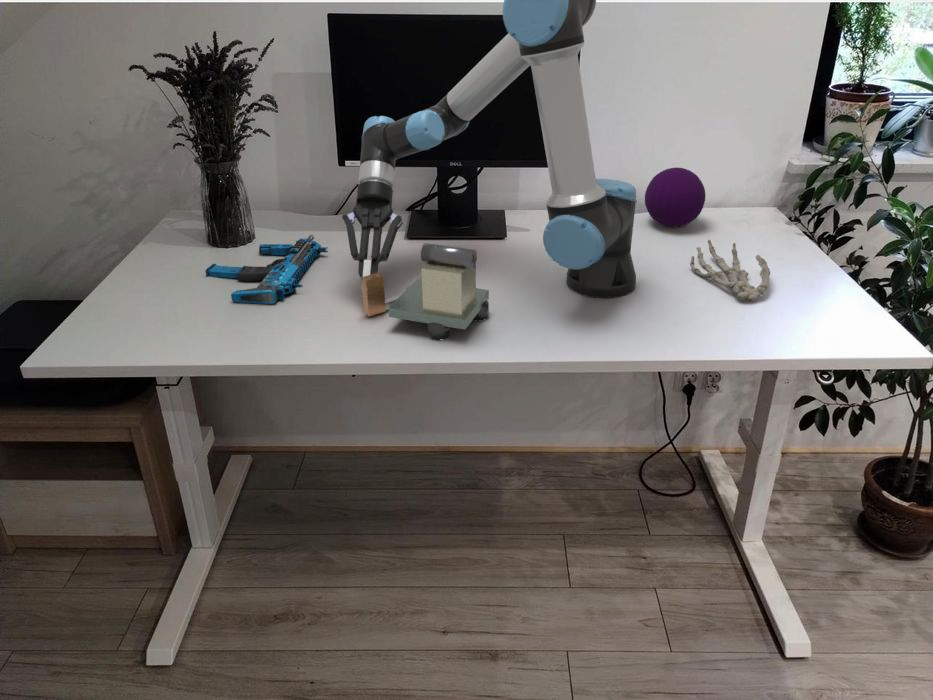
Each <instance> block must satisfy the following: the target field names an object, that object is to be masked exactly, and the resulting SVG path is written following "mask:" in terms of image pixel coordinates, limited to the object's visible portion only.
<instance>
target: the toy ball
mask: <svg viewBox="0 0 933 700" xmlns="http://www.w3.org/2000/svg"><path fill="white" fill-rule="evenodd" d="M705 202H706V188H705V186H704V183H703V182H702V180H701V179H700V177H699V176H698V175H697V174H696V173H695V172H693V171H691V170H690V169H687V168H684V167H670V168H667V169H664V170H662V171H660V172H658V173H657V174H656V175H655V176H653V178H652V179H651V180H650V182H649V184H648V185H647V188H646V190H645V193H644V205H645V208H646V210H647V213H648V215H649V217H651V219H652V220H653V221H655V222H656V223H657V224H659V225H661V226H663V227H668V228H680V227H681V228H682V227H684V226H686V225H688V224H690V223H692V222H693V221H694V220H696V219H697V218H698V217H699V215H700V214H701V212H702V210H703V208H704V206H705Z"/></svg>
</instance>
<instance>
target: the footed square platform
mask: <svg viewBox="0 0 933 700" xmlns="http://www.w3.org/2000/svg"><path fill="white" fill-rule="evenodd" d="M477 255H478V252H477V250H476V249H473V248H465V247H458V246H450V245H444V244H435V243H429V242H425V243H423V244H422V247H421V250H420V259H421V261H422V263H425V264H424V265H423V266H422V267H421V279H418V278H416V279H415V280H414V281H413V283H412V284H411V285H410V286H408V287H409V288H408V287H407V288H408V289H407V288H406V289H407V290H406V289H405V290H404V291H403V292H402V293H401V294H400V295H401V296H400V297H399V298H398V299H397V300H396V301H395V302H394V303H393V304H392V305H391V306H390V307H389V308H387V310H388V318H392V319H400V320H406V321H411V322H417V323H423V324H427V336H429V337H430V338H429V337H428V338H429V339H431V338H432V339H431V340H433V339H435V340H434V341H441V340H440V339H444V340H447V339H449V338H450V337H451V328H453V329H460V330H466V329H467V328H468V327H469V325H470V324H471V323H472V321H473V320H477V321H476V322H480V321H479V320H483V321H485V320H484V319H486V320H487V319H488V318H489V317H488V316H489V315H490V314H489V309H490V308H489V305H490V304H489V299H490V298H489V297H490V294H489V293H490V292H489V291H490V290H489V289H484V288H483V289H482V288H478V287H477V271H476V269H477V257H478V256H477ZM449 336H450V337H449ZM448 337H449V338H448ZM446 338H447V339H446Z"/></svg>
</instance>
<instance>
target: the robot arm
mask: <svg viewBox="0 0 933 700" xmlns="http://www.w3.org/2000/svg"><path fill="white" fill-rule="evenodd" d="M596 4H597V0H503V4H502V19H503V24H504V27H505V29H506V32H507V34H506V35H505V36H504V37H503V38H502V39H501V40H500V41H499V42H498V43H496V45H495V46H494V47H493V48H492V49H491V50H490V51H488V53H487V54H486V55H485V56H484V57H482V58H481V60H480V61H479V62H478V63H477V64H476V65H475V66H474V67H473V68H472V69H471V70H470V71H469V72H468V73H467V74H466V75H465V76H464V77H463V78H461V80H459V81H458V82H457V84H456V85H454V87H452V89H451V90H450V91H448V92H447V94H446V95H445V96H444V97H442V99H440V101H439V102H437V103H436V104H435V105H433V106H430V107H428V108H426V109H423V110H420V111H417V112H415V113H412V114H410V115H407V116H405V117H402V118H401V119H398V120H396V121H395V120H394V119H393V118H391V117H388V116H385V115H379V116H377V115H374V116H371V117H368V118H367V120H366V121H365V122H364V125H363V131H362V135H361V147H360V148H361V151H360V161H359V171H358V179H357V180H358V181H357V183H358V186H357V191H356V200H355V206H354V207H353V209H352V212H350V213H348V214H346V213H344V214H342V216H341V218H342V220H343V222H344V224H345V225H346V232H347V238H348V245H349V249H350V255H351V257H352V259H353V261H355V262H356V261H358V271H357V273H358V276H359V278H361V277H364V276H368V275H371V274H374V273H379V264H380V263H381V262H387V261H388V259H389V257H390V253H391V250H392V249H393V245H394V242H395V239H396V236H397V233H398V230H399V229H400V228H401V226H402V225H403V224H404V222H403V219H402V216H401V215H400V214H399V215H397V214H395V213H394V210H393V208H392V205H393V193H394V190H393V188H394V183H395V182H394V181H395V172H396V171H395V169H396V161H397V160H399V159H401V158H405V157H407V156H409V155H413V154H416V153H419V152H422V151H428V150H430V149H432V148H434V147H437V146H439V145H440V144H441V143H442V142H443V141H446V140H447V139H450V138H452V137H456V136H458V135H459V134H461V133H462V132H464V131H465V130H466V129H467V128H468V126H469V125H470V121H471V120H473V119H474V118H475V116H477V115H478V114H479V112H481V111H482V110H483V109H484V108H485V107H486V106H487V105H489V104H490V103H491V102H492V101H493V100H494V99H495V98H497V96H498V95H500V93H502V92H503V91H504V90H505V89H506V88H507V87H508V86H509V85H510V84H511V83H513V82H514V81H515V80H516V79H517V78H518V77H519V76H520V75H521V74H523V72H524V71H526V70H527V69H528V68H529V67H530V69H531V74H532V80H533V85H534V90H535V91H534V92H535V97H536V103H537V110H538V115H539V122H540V126H541V132H542V139H543V145H544V150H545V156H546V161H547V168H548V174H549V180H550V187H551V194H550V196H549V197H548V199H547V200H546V202H545V203H546V208H547V210H546V211H547V214H548V222H547V224H546V225H545V228H544V229H543V235H542V241H543V246H544V249H545V252H546V253H547V254H548V256H549V257H550V258H551V260H552V261H554V262H555V263H557V264H558V265H559V266H560V267H563V268H566V269H567V271H566V279H565V281H566V285H567V287H568V288H569V289H570V290H571V291H573V292H575V293H577V294H580V295H583V296H586V297H590V298H597V299H598V298H599V299H610V298H611V299H612V298H613V299H614V298H618V297H623V296H627V295H628V294H630V293H632V292H633V291H634V290H635V288H636V284H637V274H636V270H635V266H634V261H633V258H632V254H631V252H632V251H631V249H632V243H633V242H632V241H633V233H634V221H635V211H636V203H637V189H636V187H635V186H634V185H633V184H631V183H629V182H626V181H623V180H617V179H610V178H609V179H608V178H596V171H595V166H594V158H593V151H592V145H591V140H590V139H591V138H590V137H591V136H590V131H589V124H588V117H587V111H586V105H585V97H584V96H585V95H584V90H583V83H582V76H581V70H580V63H579V56H578V55H579V53H580V52H581V49H582V48H583V47H584V45H585V37H584V31H583V27H584V26H585V25H586V24H587V23H588V22H589V21H590V19H591V17H593V14H594V11H595V9H596ZM355 218H356V220H357V222H358V223H359V225H360V226H361V227H360V228H361V232H360V233H361V234H360V242H359V243H360V244H359V250H358V245H357V239H356V238H357V236H356V232H355V231H356V230H355V228H354V224H355V223H356V221H355ZM389 221H390V223H389ZM387 223H389V224H390V225H389V227H388V230H387V234H386V235H385V238H384V242H383V245H382V248H381V244H382V243H381V242H382V234H383V228H384V227H385V225H387ZM371 229H373V234H372V245H371V247H372V248H371V255H370V258H371V259H368V254H369V243H370V234H371Z"/></svg>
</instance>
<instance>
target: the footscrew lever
mask: <svg viewBox="0 0 933 700" xmlns="http://www.w3.org/2000/svg"><path fill="white" fill-rule="evenodd" d="M384 279H385V278H384V275H383V274H382V273H380V272H378V273H374V274H371V275H368V276H364V277H360V280H361V281H360V282H361V292H362V304H363V313H364V314H365V315H366V316H368V317H372V316H374V315H377V314H381V313H385V312H386V311H387V309H388V308H389V307H390V306H391V305H392V304H393V303H394V302H395V301H396V300H397V299H398V298H399V297H400V296H401V295H402V294H400V295H395V296H392V297H390V298H387V299H386V296H385V280H384ZM409 287H410V286H408V287H407V288H406V289H405V291H406V290H407V289H408V288H409Z"/></svg>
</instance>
